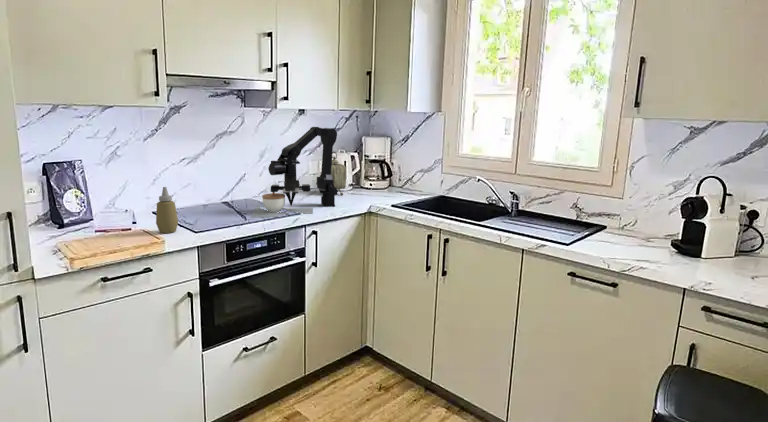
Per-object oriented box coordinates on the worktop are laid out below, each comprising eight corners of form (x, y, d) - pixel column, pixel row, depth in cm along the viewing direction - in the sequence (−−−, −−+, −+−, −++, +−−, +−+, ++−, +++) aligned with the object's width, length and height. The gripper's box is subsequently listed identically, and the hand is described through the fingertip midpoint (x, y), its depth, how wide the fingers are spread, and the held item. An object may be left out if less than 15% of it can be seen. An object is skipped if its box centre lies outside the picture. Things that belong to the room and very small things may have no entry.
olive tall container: (346, 195, 287) (346, 152, 282) (331, 196, 282) (331, 153, 277) (335, 192, 299) (335, 150, 294) (321, 193, 295) (321, 150, 289)
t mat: (312, 206, 255) (312, 205, 255) (312, 217, 230) (312, 216, 230) (257, 207, 251) (257, 206, 251) (250, 218, 226) (250, 216, 226)
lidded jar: (289, 211, 239) (288, 192, 237) (269, 214, 233) (267, 194, 231) (279, 207, 247) (278, 189, 245) (259, 210, 241) (258, 191, 239)
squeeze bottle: (174, 228, 202) (171, 184, 199) (182, 232, 197) (179, 187, 193) (153, 231, 197) (150, 186, 193) (161, 235, 191) (157, 189, 188)
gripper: (269, 176, 228) (270, 209, 231) (309, 175, 231) (310, 208, 234) (270, 173, 239) (272, 204, 242) (309, 172, 242) (310, 204, 245)
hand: (291, 205), depth 240 cm, fingers closed
